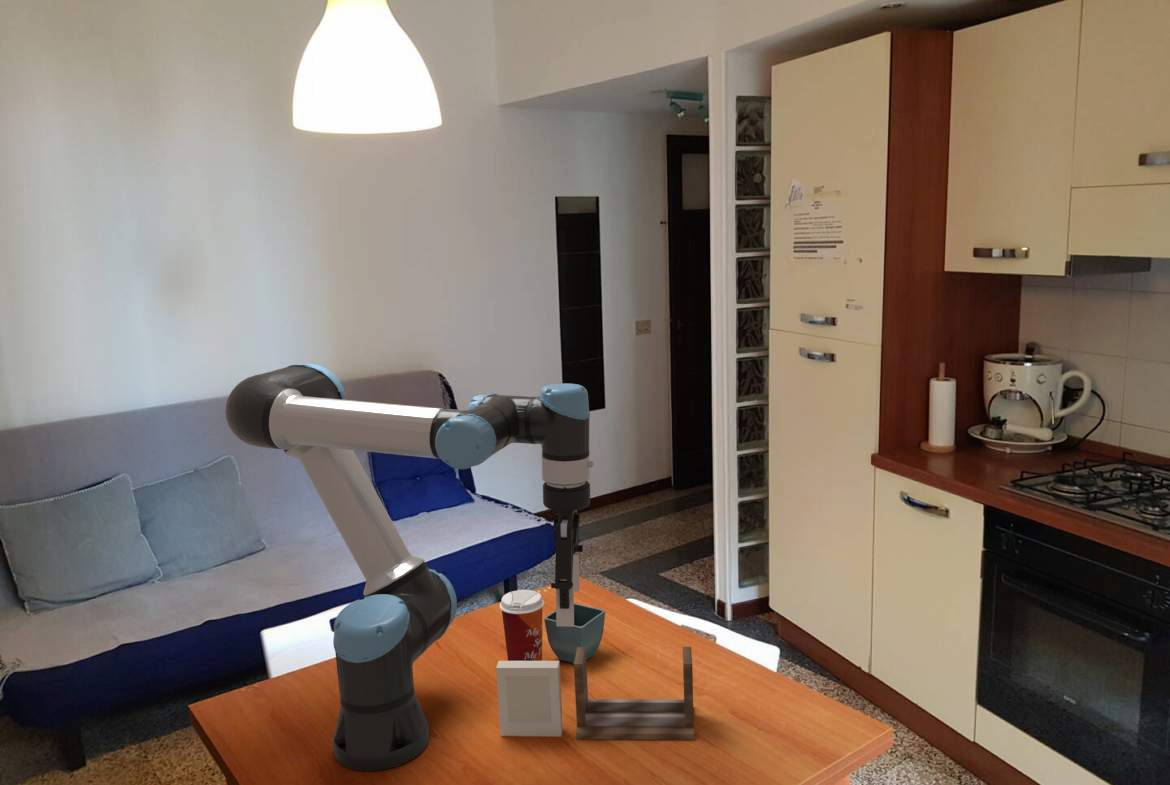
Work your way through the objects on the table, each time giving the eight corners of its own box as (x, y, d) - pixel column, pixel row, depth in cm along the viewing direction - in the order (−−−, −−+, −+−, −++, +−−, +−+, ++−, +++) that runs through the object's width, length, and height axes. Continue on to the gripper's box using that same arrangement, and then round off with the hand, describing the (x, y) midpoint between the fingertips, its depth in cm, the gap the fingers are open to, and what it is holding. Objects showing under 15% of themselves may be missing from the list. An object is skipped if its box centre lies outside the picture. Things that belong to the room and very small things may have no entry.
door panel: (500, 736, 146) (496, 668, 144) (503, 727, 148) (498, 660, 146) (561, 736, 145) (557, 668, 143) (562, 728, 147) (559, 660, 145)
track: (576, 738, 144) (572, 669, 142) (581, 706, 154) (578, 641, 152) (694, 739, 142) (692, 670, 140) (692, 707, 152) (690, 641, 150)
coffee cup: (541, 685, 162) (537, 607, 159) (498, 682, 163) (493, 605, 161) (552, 663, 170) (548, 588, 167) (511, 660, 172) (506, 587, 169)
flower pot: (608, 653, 173) (606, 609, 171) (583, 672, 166) (581, 627, 164) (570, 643, 178) (568, 601, 176) (545, 662, 170) (542, 618, 169)
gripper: (585, 506, 129) (587, 642, 133) (593, 461, 154) (594, 577, 157) (534, 505, 129) (537, 641, 133) (550, 461, 154) (552, 577, 158)
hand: (568, 607), depth 145 cm, fingers open, 13 cm apart
